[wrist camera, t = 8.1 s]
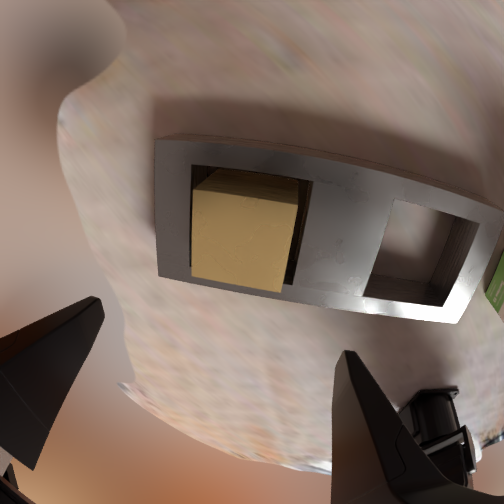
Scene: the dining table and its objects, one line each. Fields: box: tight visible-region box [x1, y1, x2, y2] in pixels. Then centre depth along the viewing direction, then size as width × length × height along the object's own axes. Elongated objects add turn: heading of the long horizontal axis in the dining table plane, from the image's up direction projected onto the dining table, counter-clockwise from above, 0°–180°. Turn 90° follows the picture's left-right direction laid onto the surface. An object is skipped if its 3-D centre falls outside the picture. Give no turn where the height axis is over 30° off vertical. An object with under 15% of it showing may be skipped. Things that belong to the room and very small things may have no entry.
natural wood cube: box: [192, 168, 298, 293], centre depth 17 cm, size 5×5×5 cm
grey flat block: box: [154, 134, 504, 323], centre depth 17 cm, size 22×9×3 cm, turn 84°
